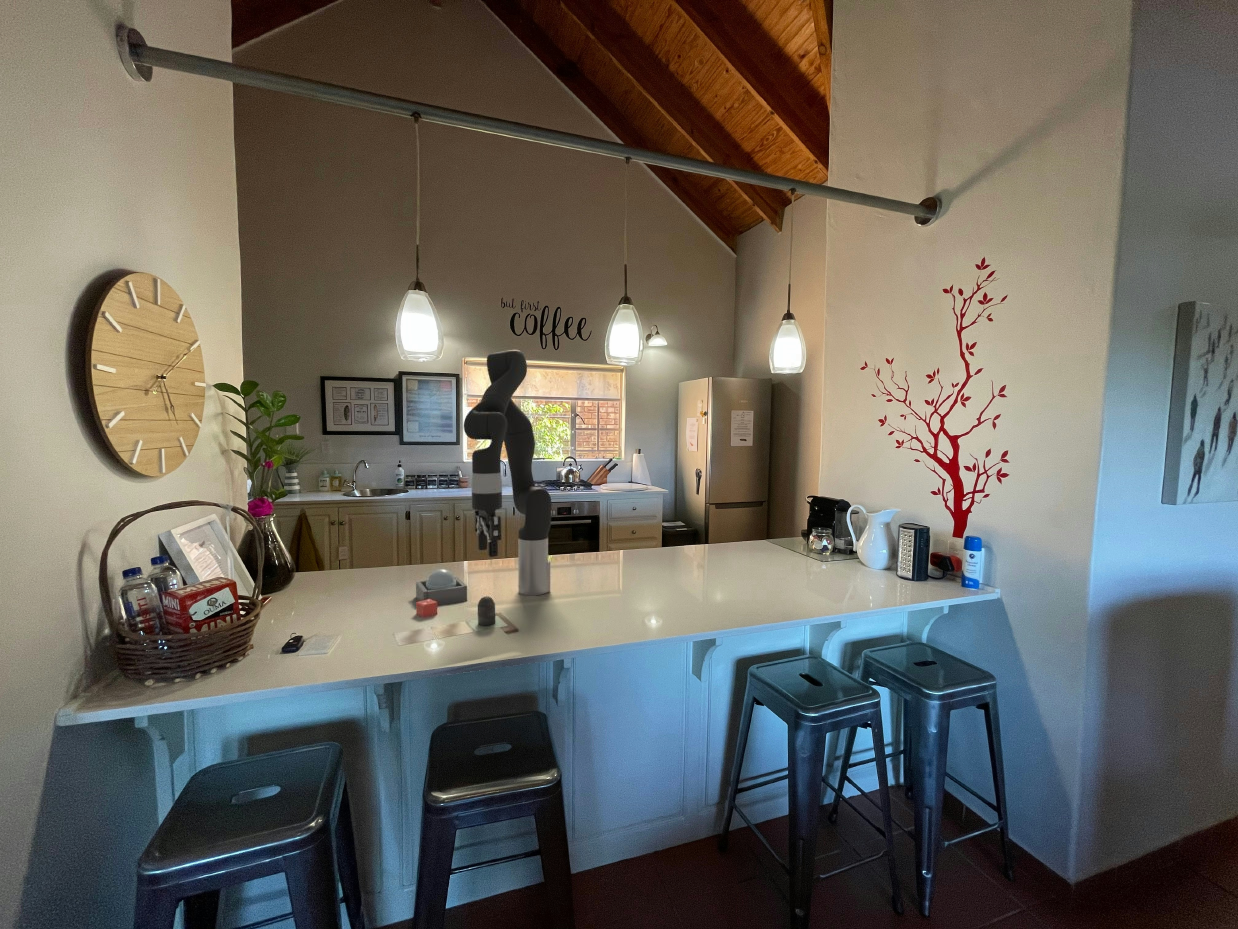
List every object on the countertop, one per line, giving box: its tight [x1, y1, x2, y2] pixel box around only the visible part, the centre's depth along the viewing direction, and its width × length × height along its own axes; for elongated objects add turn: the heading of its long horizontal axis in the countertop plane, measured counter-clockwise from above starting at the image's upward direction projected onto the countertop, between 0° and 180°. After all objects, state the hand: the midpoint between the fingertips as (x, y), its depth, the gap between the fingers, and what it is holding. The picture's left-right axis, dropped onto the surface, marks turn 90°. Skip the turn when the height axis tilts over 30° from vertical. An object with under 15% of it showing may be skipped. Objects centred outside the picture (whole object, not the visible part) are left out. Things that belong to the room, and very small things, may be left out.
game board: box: [392, 611, 520, 646], centre depth 137 cm, size 30×14×1 cm, turn 121°
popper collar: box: [415, 576, 468, 607], centre depth 164 cm, size 12×12×4 cm
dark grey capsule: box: [477, 595, 496, 626], centre depth 141 cm, size 4×4×7 cm
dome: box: [426, 568, 456, 591], centre depth 164 cm, size 9×9×8 cm
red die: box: [415, 599, 438, 618], centre depth 148 cm, size 4×4×4 cm
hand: (487, 553), depth 140 cm, fingers open, 8 cm apart
